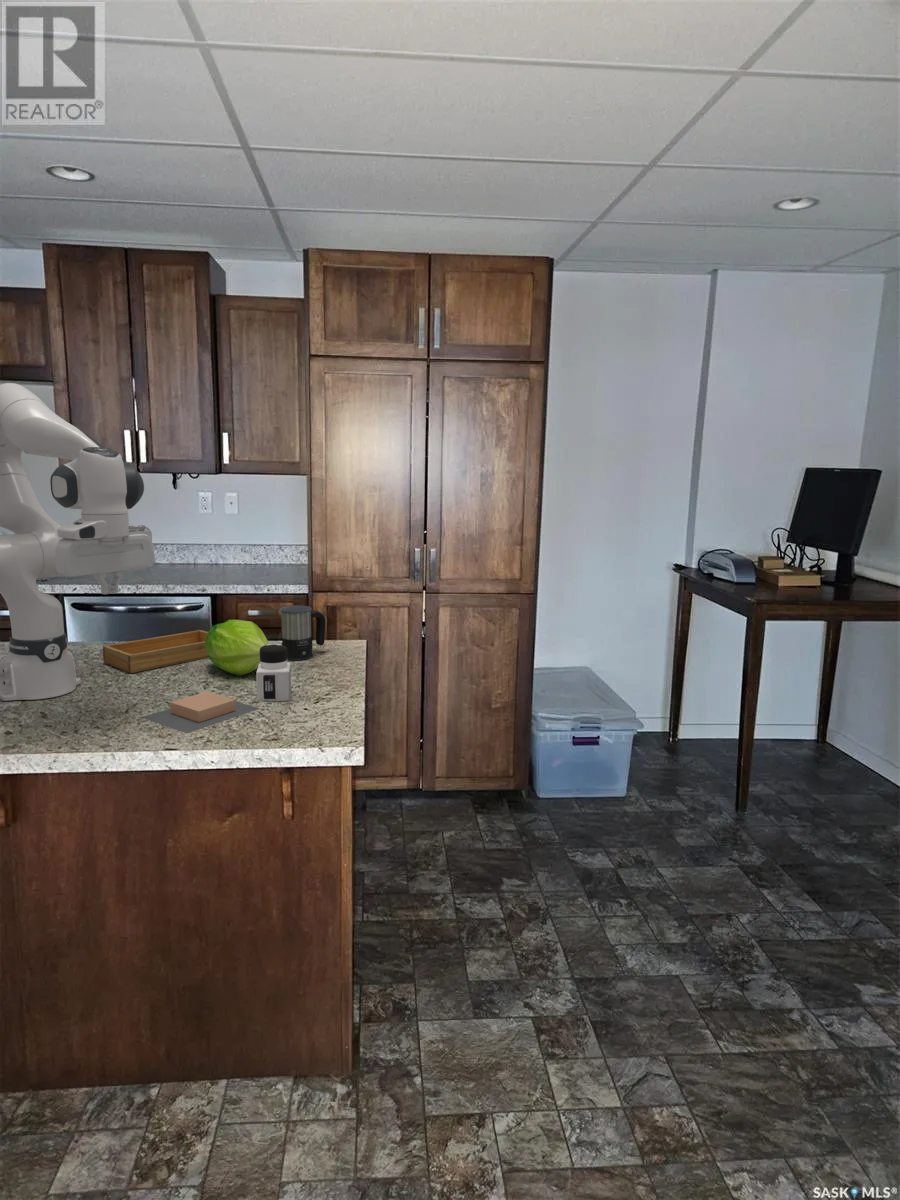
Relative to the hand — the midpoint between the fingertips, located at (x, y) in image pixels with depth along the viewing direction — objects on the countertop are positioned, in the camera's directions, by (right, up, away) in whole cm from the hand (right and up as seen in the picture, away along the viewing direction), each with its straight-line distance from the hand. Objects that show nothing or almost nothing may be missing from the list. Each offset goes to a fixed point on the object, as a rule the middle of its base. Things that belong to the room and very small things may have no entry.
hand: (109, 593), depth 154 cm
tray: (-10, -19, +58) cm, 62 cm away
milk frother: (+25, -18, +67) cm, 74 cm away
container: (+28, -26, +27) cm, 47 cm away
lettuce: (+13, -21, +47) cm, 53 cm away
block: (+13, -26, +9) cm, 30 cm away
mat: (+15, -28, +13) cm, 34 cm away
